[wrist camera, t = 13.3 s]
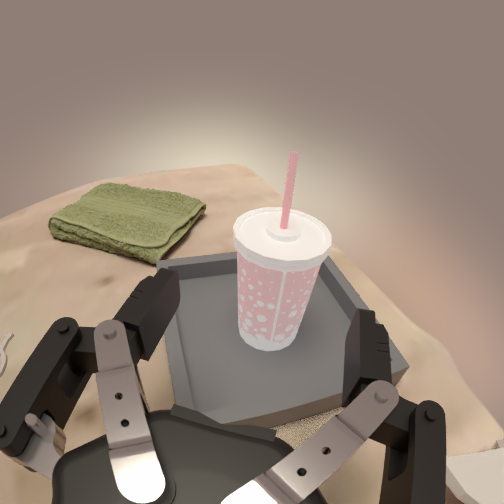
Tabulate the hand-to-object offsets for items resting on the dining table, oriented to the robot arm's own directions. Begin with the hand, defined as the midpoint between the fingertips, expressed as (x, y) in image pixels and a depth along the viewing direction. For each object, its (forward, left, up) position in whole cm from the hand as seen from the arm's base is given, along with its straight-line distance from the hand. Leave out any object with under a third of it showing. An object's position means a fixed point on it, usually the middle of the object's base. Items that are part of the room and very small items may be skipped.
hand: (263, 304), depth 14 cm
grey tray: (-6, +3, -10) cm, 12 cm away
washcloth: (-26, -8, -11) cm, 29 cm away
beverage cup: (-6, +3, -9) cm, 12 cm away
